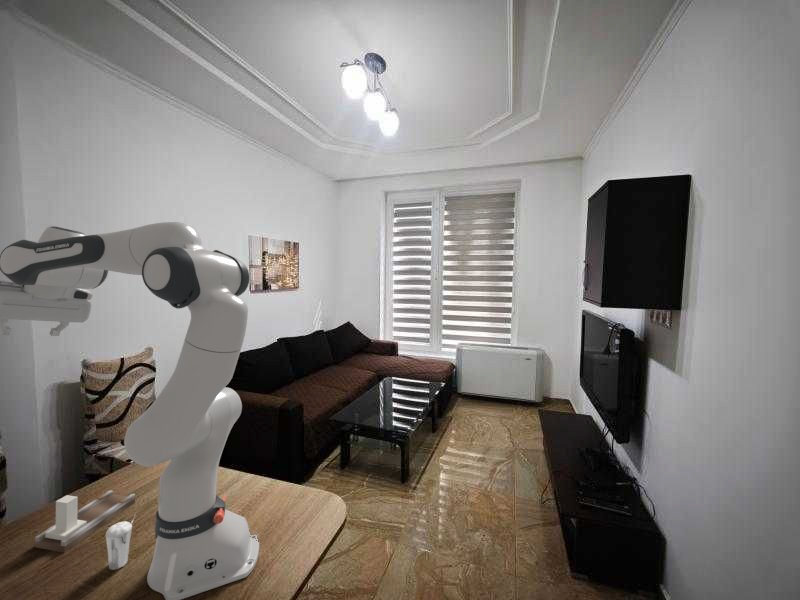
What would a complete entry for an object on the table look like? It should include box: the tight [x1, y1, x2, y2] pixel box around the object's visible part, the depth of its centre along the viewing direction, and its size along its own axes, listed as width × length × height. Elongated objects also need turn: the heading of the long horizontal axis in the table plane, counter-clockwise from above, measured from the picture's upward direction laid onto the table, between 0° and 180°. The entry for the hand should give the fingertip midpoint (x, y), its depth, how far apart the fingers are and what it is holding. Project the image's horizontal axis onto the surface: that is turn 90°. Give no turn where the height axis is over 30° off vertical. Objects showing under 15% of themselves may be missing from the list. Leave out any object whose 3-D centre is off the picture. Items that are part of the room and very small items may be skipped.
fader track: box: [34, 489, 136, 554], centre depth 87 cm, size 18×8×3 cm, turn 173°
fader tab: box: [45, 494, 87, 541], centre depth 81 cm, size 5×5×8 cm
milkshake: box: [105, 513, 137, 571], centre depth 76 cm, size 4×5×10 cm
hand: (29, 334), depth 88 cm, fingers open, 8 cm apart
